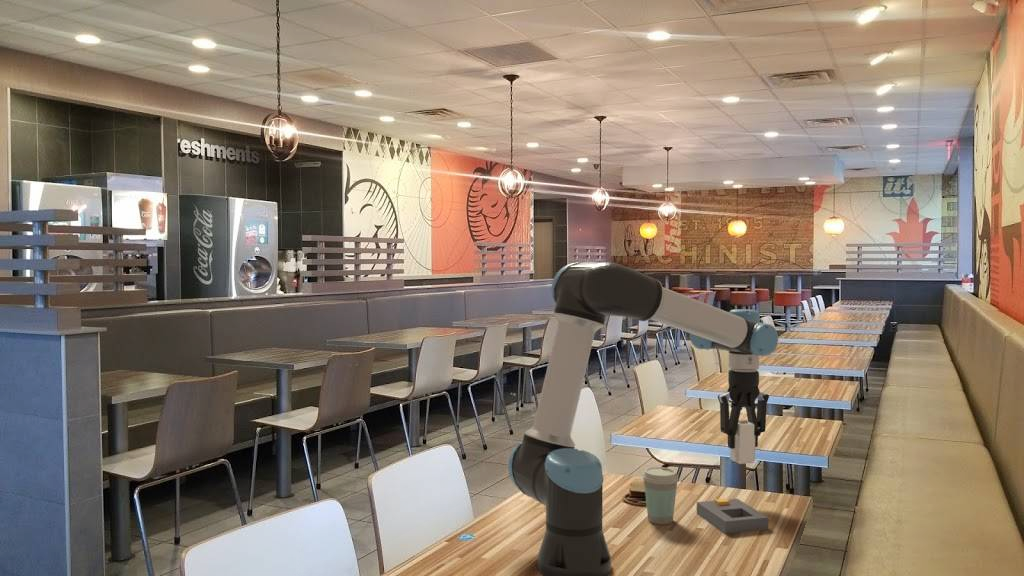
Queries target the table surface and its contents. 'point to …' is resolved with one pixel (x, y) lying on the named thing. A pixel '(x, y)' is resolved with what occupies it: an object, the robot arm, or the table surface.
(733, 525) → the grey charger dock
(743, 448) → the block
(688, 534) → the table surface
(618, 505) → the table surface
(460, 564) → the table surface
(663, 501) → the coffee cup
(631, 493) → the toy sandwich meal
